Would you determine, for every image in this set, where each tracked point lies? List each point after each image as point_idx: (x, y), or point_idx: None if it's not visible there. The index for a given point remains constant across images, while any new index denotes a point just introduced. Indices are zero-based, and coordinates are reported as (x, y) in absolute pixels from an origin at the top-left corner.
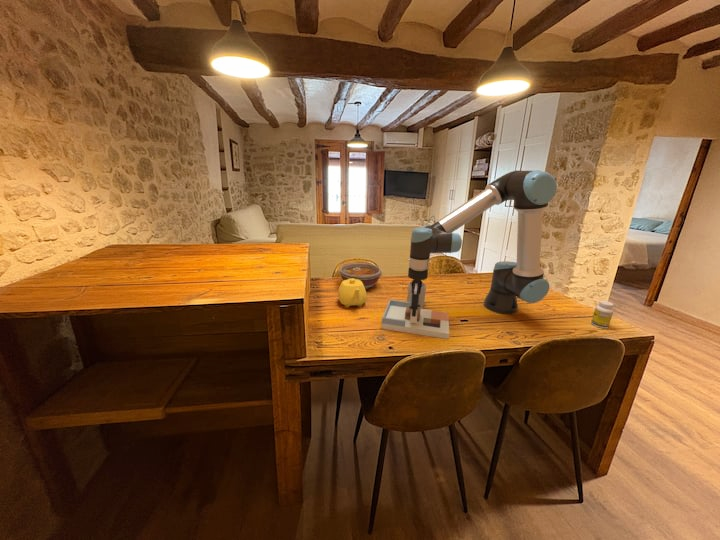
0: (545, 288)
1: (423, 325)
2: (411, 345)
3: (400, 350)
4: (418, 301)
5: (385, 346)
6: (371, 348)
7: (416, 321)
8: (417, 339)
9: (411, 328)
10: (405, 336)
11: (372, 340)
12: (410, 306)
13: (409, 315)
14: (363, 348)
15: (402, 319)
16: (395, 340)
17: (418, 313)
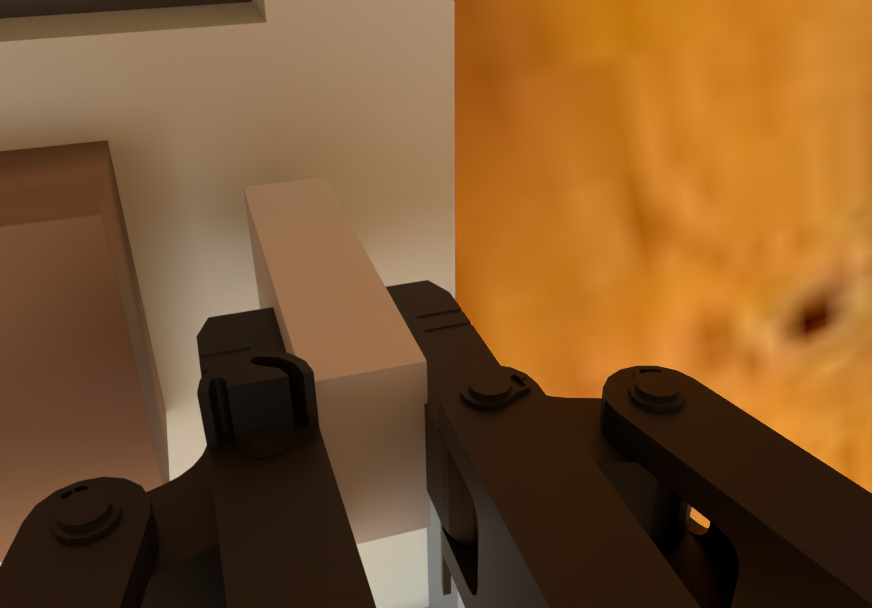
0: None
1: (267, 6)
2: (747, 96)
3: (859, 202)
4: (115, 538)
5: (794, 371)
6: (835, 466)
7: (333, 193)
8: (577, 38)
9: (451, 213)
10: (536, 232)
11: (701, 517)
12: (449, 576)
13: (153, 395)
14: None
15: (200, 439)
16: (662, 319)
17: (93, 249)
